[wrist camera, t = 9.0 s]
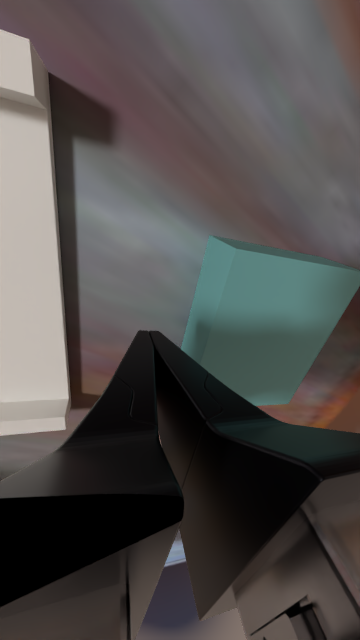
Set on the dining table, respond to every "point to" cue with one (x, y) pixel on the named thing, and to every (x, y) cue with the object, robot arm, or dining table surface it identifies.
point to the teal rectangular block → (264, 316)
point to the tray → (29, 251)
